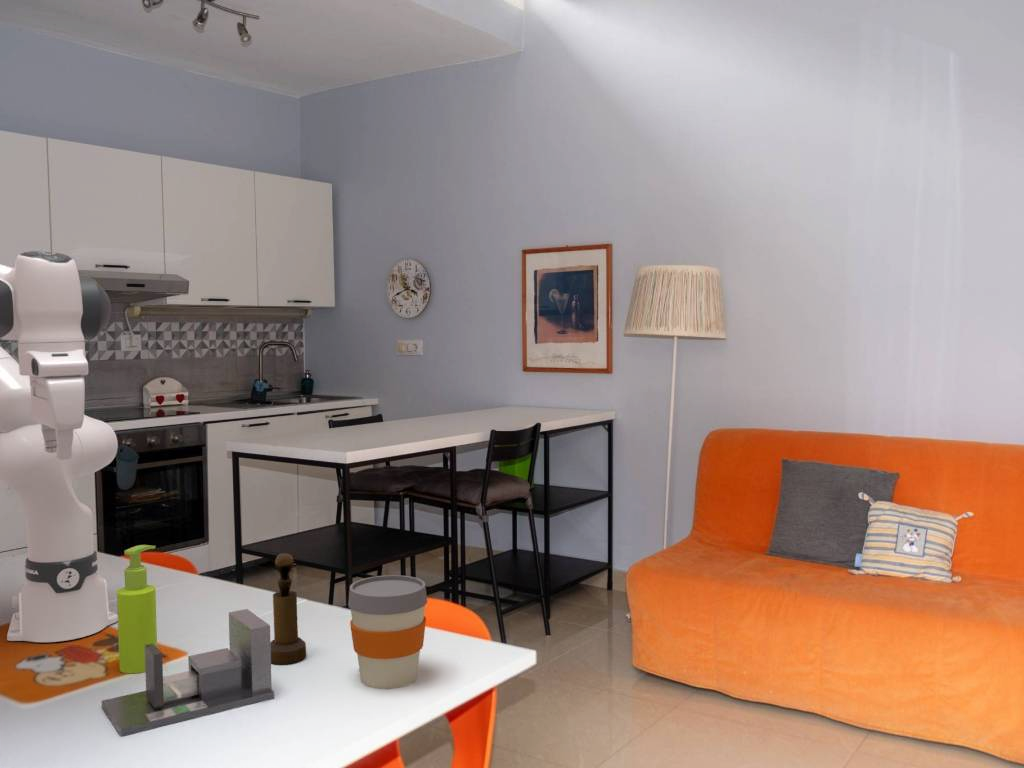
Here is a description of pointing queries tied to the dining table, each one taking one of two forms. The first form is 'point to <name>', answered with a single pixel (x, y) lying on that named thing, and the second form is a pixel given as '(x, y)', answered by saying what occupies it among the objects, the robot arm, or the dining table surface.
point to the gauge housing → (208, 681)
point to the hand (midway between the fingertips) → (58, 455)
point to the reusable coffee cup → (388, 628)
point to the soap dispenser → (136, 614)
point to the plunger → (166, 680)
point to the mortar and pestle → (286, 618)
